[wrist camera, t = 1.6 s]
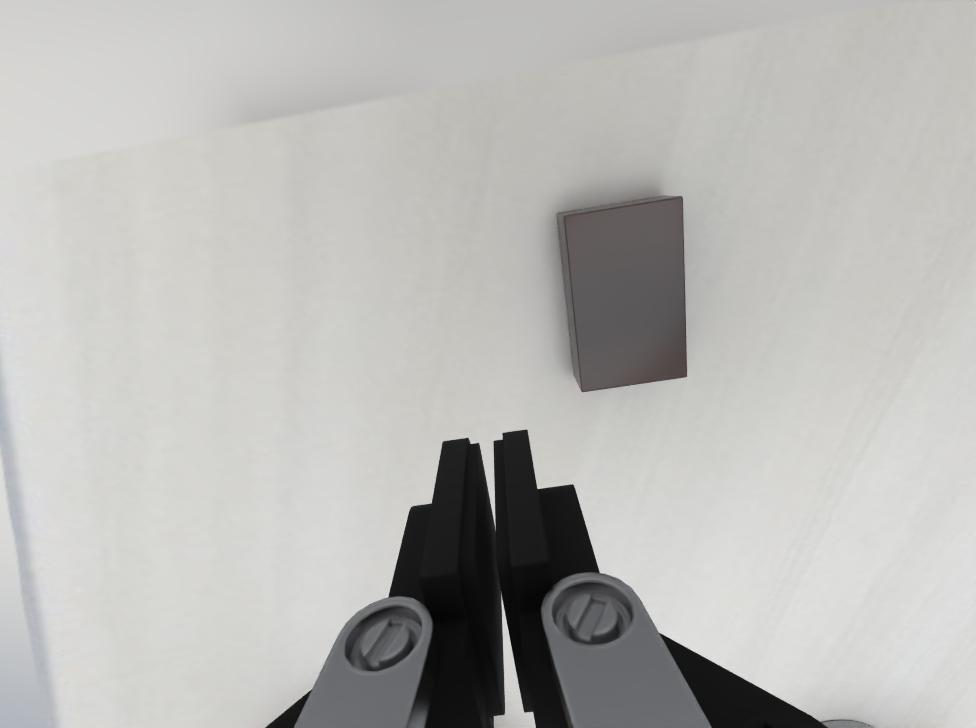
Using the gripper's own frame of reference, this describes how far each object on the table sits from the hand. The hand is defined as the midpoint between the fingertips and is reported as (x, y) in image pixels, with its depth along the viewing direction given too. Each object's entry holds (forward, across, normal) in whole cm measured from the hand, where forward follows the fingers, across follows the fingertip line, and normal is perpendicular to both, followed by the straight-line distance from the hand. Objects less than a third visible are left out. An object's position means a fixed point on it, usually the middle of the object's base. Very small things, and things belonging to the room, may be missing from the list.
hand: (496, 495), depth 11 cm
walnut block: (+17, -7, 0) cm, 18 cm away
